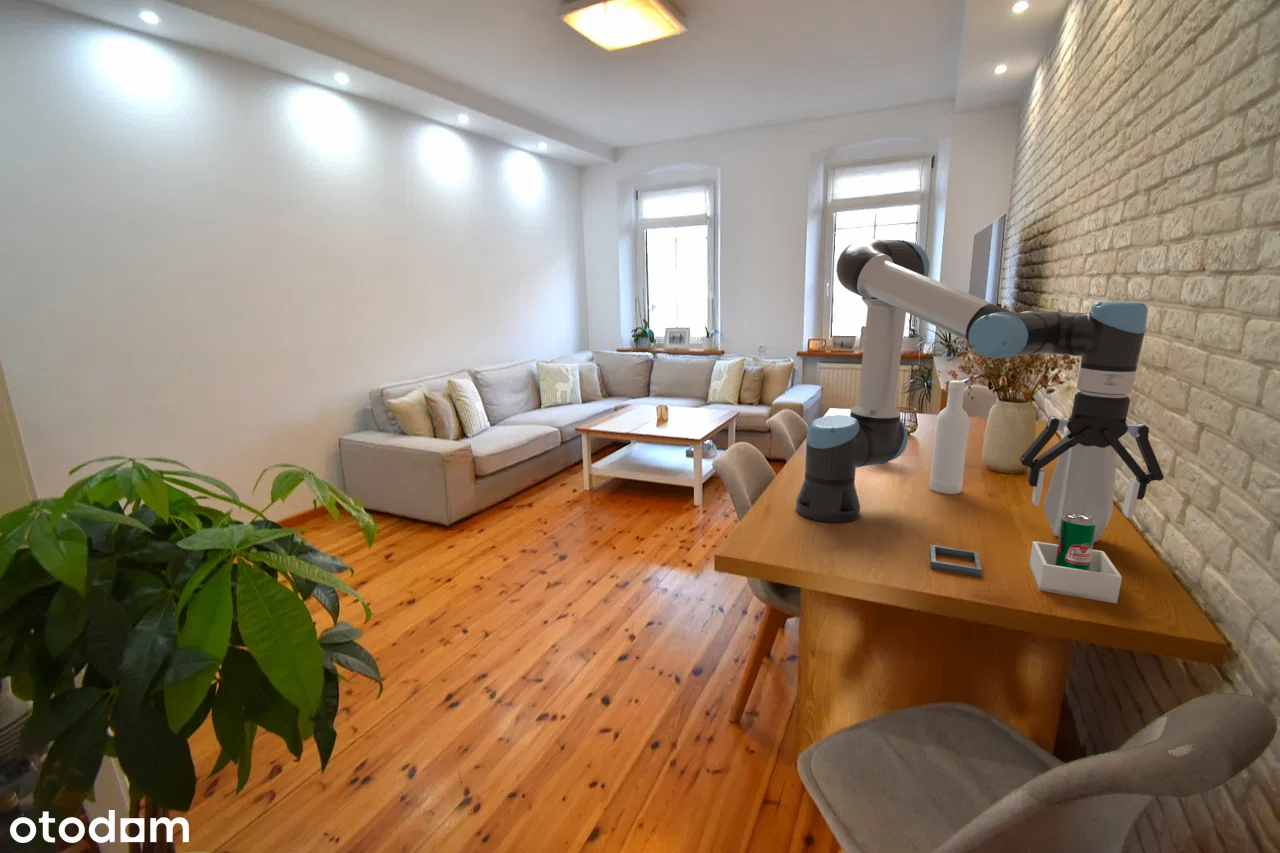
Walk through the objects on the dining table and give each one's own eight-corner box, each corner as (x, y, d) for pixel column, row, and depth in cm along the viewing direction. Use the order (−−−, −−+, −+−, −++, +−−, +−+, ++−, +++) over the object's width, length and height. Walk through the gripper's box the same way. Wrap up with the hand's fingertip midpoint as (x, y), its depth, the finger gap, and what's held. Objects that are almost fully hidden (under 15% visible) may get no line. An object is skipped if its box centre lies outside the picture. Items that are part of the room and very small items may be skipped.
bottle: (923, 488, 158) (934, 381, 152) (937, 483, 163) (948, 378, 156) (953, 496, 152) (966, 384, 146) (966, 490, 157) (980, 381, 150)
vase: (1102, 531, 129) (1128, 386, 122) (1115, 551, 119) (1145, 395, 112) (1037, 522, 135) (1058, 383, 127) (1045, 540, 125) (1068, 391, 117)
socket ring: (930, 568, 113) (931, 561, 112) (929, 551, 120) (930, 544, 120) (981, 577, 109) (982, 570, 109) (977, 558, 117) (977, 551, 116)
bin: (1039, 590, 104) (1043, 564, 103) (1029, 564, 114) (1032, 541, 113) (1116, 603, 99) (1122, 577, 98) (1099, 575, 109) (1103, 551, 108)
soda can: (1064, 583, 104) (1073, 519, 102) (1047, 572, 109) (1056, 511, 107) (1094, 585, 104) (1103, 521, 102) (1076, 574, 109) (1085, 513, 107)
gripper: (1020, 391, 101) (1002, 504, 106) (1207, 403, 90) (1177, 529, 95) (1014, 384, 107) (997, 491, 112) (1188, 395, 97) (1160, 513, 102)
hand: (1079, 509), depth 104 cm, fingers open, 13 cm apart
